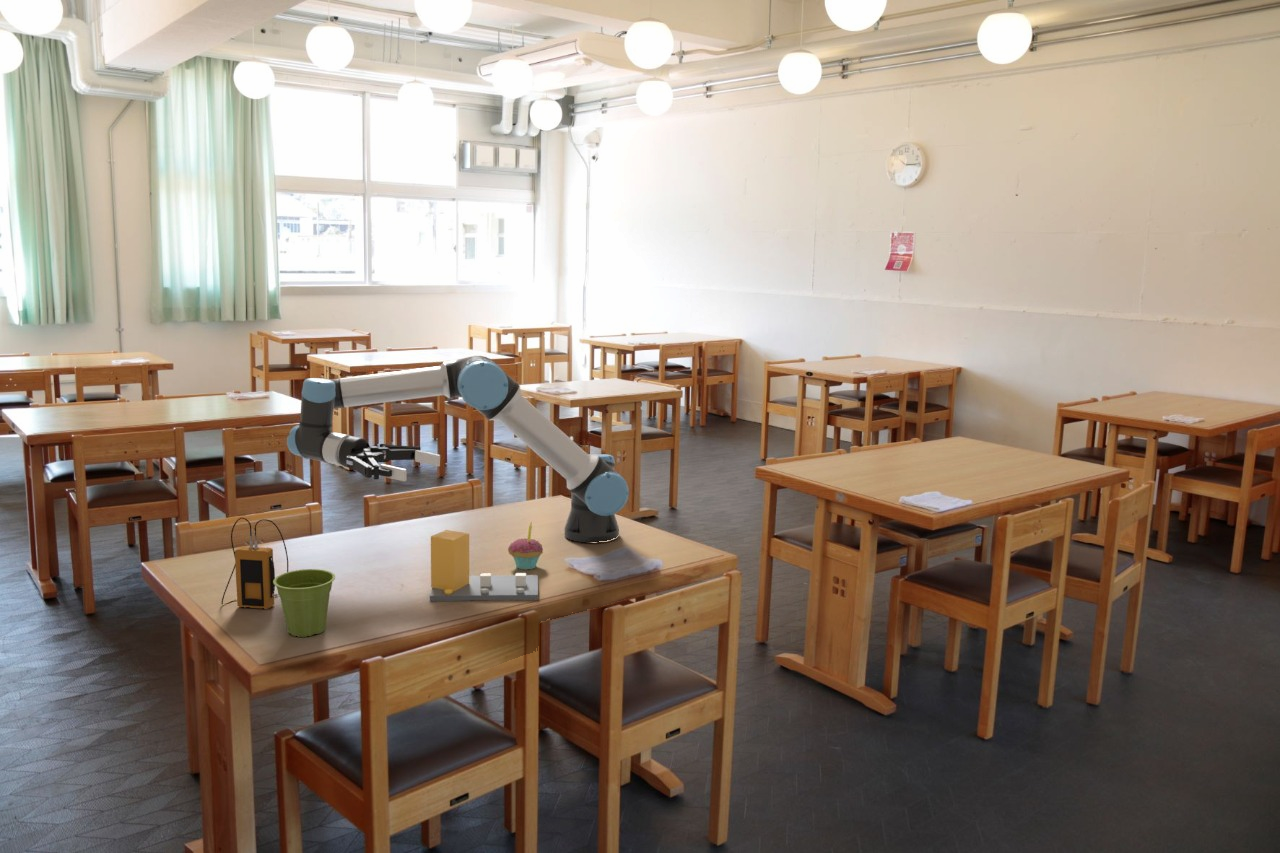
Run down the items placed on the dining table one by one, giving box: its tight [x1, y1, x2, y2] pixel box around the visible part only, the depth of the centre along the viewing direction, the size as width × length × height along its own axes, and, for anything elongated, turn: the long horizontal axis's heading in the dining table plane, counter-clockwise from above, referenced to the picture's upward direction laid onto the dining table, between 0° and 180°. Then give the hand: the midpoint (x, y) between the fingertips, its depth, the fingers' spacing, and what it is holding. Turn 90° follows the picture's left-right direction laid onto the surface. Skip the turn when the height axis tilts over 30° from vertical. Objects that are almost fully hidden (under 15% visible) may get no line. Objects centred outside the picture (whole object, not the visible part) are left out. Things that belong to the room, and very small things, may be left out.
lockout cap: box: [430, 529, 470, 591], centre depth 227 cm, size 6×6×12 cm
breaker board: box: [429, 572, 539, 602], centre depth 229 cm, size 24×14×4 cm, turn 96°
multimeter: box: [220, 517, 289, 610], centre depth 216 cm, size 15×10×20 cm
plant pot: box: [273, 568, 336, 638], centre depth 201 cm, size 12×12×11 cm
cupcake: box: [507, 521, 544, 570], centre depth 245 cm, size 9×8×12 cm
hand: (423, 467), depth 229 cm, fingers open, 13 cm apart
